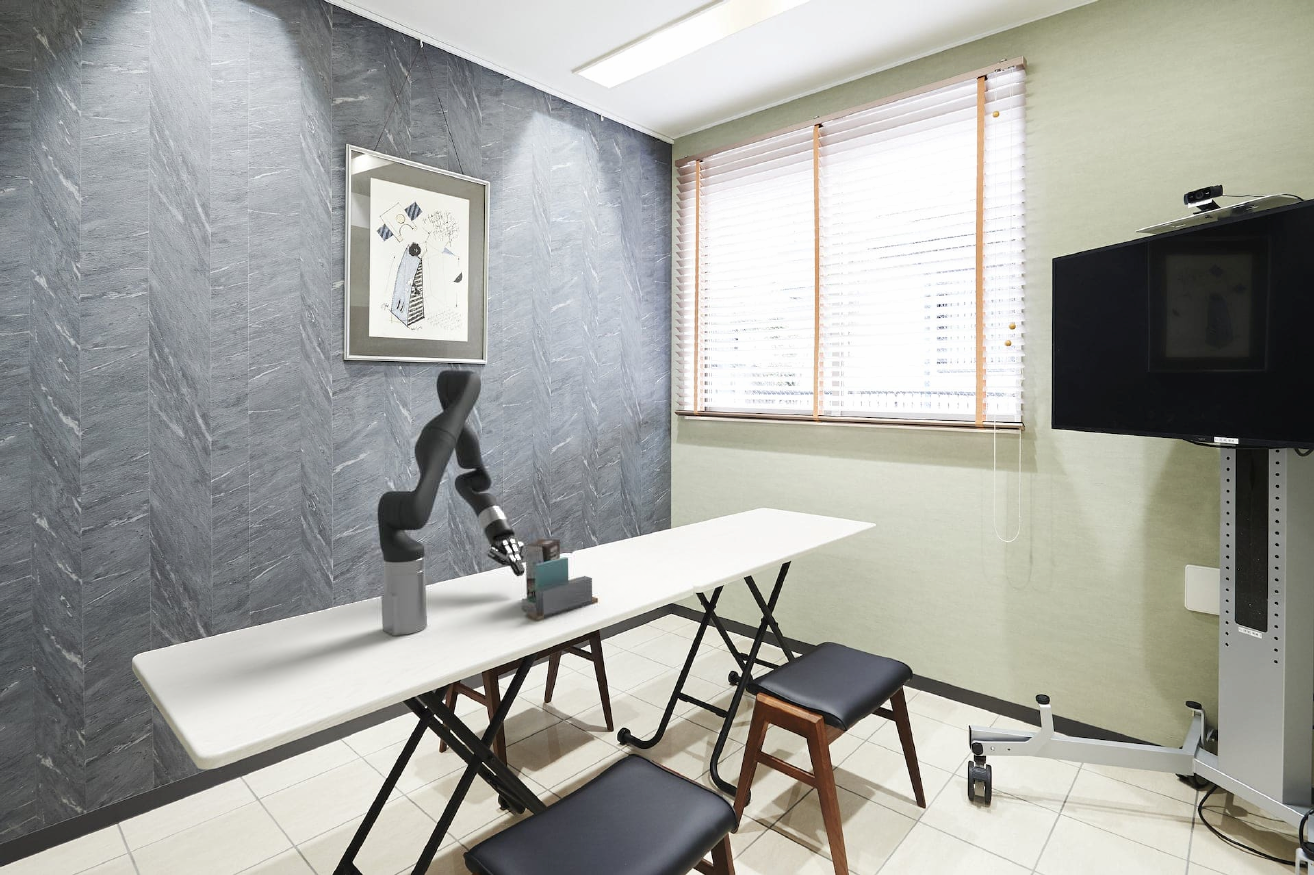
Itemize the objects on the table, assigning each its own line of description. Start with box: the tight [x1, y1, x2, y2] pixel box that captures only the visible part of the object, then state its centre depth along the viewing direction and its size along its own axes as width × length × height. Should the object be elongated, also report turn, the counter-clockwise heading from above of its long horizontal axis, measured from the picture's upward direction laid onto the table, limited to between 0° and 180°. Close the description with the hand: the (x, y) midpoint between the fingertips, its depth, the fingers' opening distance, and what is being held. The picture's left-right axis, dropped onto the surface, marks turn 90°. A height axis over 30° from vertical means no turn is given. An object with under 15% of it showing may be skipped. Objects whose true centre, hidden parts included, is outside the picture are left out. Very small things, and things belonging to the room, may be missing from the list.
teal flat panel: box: [528, 556, 570, 600], centre depth 171 cm, size 13×1×10 cm, turn 137°
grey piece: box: [521, 575, 599, 622], centre depth 171 cm, size 20×10×7 cm, turn 137°
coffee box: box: [525, 538, 561, 599], centre depth 176 cm, size 9×6×16 cm
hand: (521, 574), depth 182 cm, fingers closed
